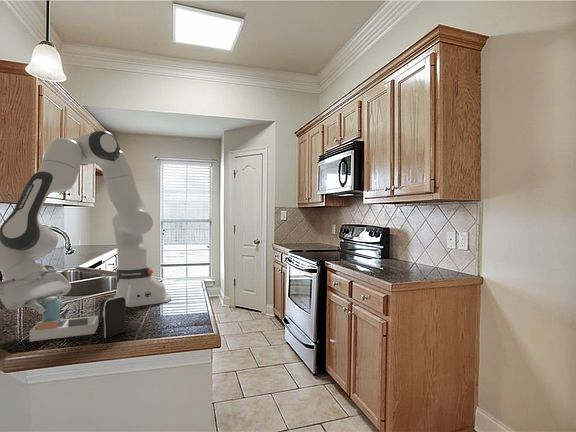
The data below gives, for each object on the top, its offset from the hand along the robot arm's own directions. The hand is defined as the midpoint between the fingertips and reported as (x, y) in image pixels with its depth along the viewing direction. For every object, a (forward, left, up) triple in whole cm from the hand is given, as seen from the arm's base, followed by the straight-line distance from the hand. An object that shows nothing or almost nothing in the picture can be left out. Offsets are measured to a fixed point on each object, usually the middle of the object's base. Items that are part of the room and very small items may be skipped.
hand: (53, 309), depth 104 cm
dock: (-3, 0, -8) cm, 8 cm away
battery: (-17, +7, -8) cm, 20 cm away
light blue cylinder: (+1, 0, -5) cm, 5 cm away
